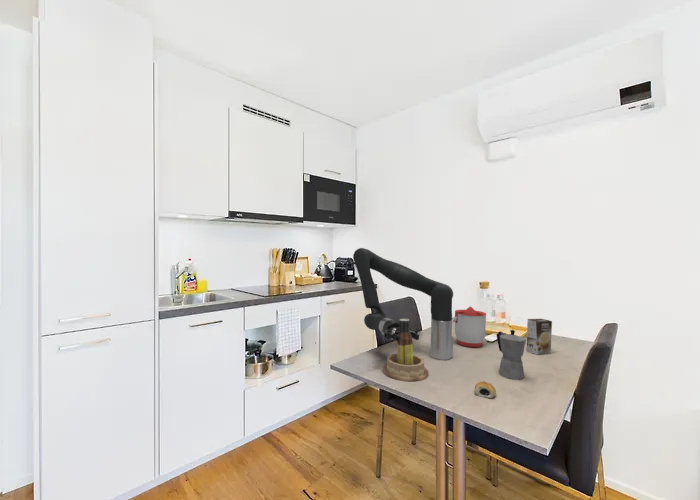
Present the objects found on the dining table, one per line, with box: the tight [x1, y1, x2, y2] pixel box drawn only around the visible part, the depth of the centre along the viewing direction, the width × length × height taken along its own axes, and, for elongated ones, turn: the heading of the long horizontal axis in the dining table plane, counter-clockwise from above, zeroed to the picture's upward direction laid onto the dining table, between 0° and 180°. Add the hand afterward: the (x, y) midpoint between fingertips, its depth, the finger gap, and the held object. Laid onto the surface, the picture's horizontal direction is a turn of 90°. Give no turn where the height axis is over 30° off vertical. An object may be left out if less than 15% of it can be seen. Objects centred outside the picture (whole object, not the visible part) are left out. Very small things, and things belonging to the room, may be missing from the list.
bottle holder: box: [382, 353, 429, 382], centre depth 126 cm, size 18×18×5 cm
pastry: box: [473, 381, 497, 399], centre depth 110 cm, size 9×7×4 cm
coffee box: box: [525, 318, 553, 356], centre depth 156 cm, size 9×6×16 cm
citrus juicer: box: [452, 306, 487, 348], centre depth 167 cm, size 16×17×20 cm
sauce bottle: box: [396, 318, 414, 365], centre depth 126 cm, size 6×6×20 cm
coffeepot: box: [496, 329, 527, 381], centre depth 127 cm, size 15×9×18 cm, turn 13°
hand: (408, 338), depth 124 cm, fingers open, 8 cm apart
